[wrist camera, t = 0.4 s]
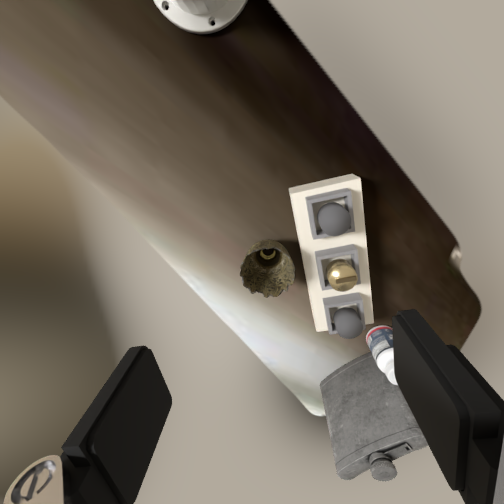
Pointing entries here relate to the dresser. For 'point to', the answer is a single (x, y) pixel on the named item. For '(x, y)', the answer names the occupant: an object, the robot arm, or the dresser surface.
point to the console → (333, 248)
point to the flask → (368, 420)
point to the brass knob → (341, 275)
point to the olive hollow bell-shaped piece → (267, 269)
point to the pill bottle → (382, 350)
